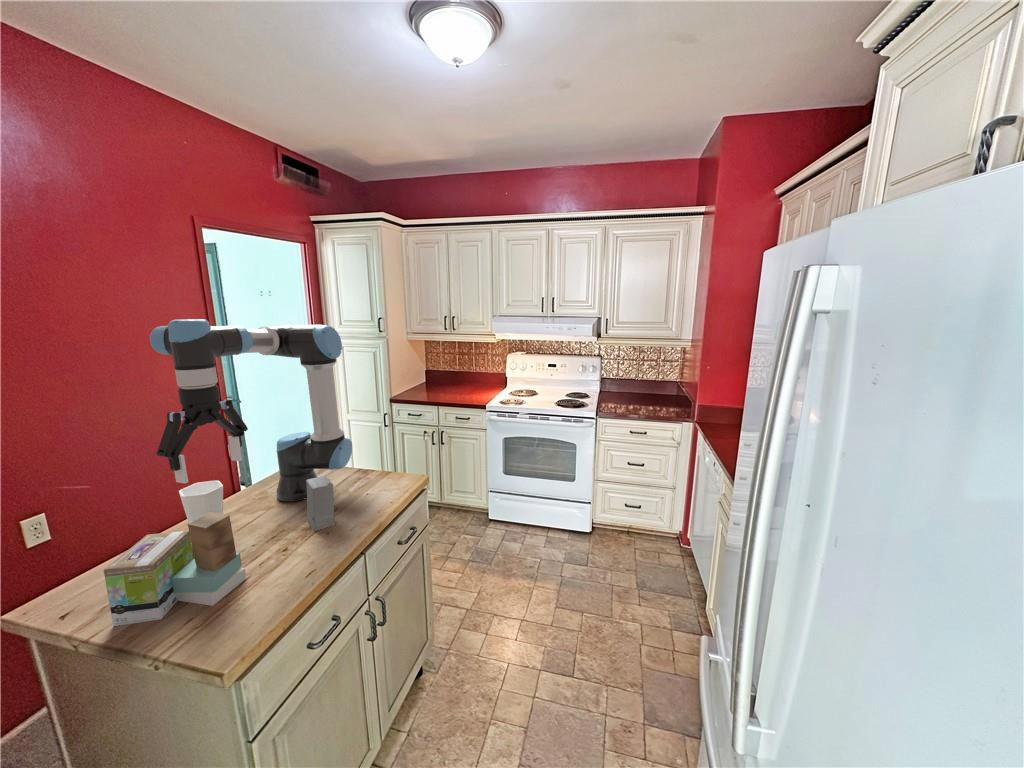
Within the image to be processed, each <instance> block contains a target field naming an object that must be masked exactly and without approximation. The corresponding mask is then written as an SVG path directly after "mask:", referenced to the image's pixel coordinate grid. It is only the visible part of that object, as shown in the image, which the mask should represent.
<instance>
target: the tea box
mask: <svg viewBox="0 0 1024 768" xmlns="http://www.w3.org/2000/svg"><path fill="white" fill-rule="evenodd" d="M194 559H195V558H194V553H193V548H192V543H191V538H190V533H189V530H181V531H170V532H169V531H168V532H161V533H160V532H159V533H152V534H151V533H149V534H146V535H145V536H143V538H141V539H140V540H139V541H137V542H136V543H135V544H134V545H132V546H131V547H130V548H128V550H126V551H125V552H124V553H122V554H121V555H120V556H119V557H118V558H116V559H115V560H114V561H112V562H111V563H110V564H109V565H107V566H106V567H105V568H104V569H103V574H104V580H105V586H106V592H107V599H108V603H109V609H110V613H111V620H112V626H113V627H118V626H119V625H120V626H127V625H131V624H139V623H145V622H150V621H153V622H154V621H157V620H162V619H163V618H164V617H165V616H166V615H167V613H169V611H170V610H171V608H173V606H174V605H176V603H177V602H178V597H177V593H174V591H173V585H172V580H171V578H172V577H173V576H174V575H176V574H177V573H178V572H179V571H180V570H182V569H183V568H184V567H185V566H186V565H188V564H189V563H190V562H191V561H192V560H194Z"/></svg>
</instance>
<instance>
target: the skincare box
mask: <svg viewBox="0 0 1024 768" xmlns="http://www.w3.org/2000/svg"><path fill="white" fill-rule="evenodd" d="M306 483H307V498H306V503H307V505H306V507H307V508H306V509H307V523H308V525H309V524H310V525H309V526H311V527H312V528H311V527H310V528H311V529H312V531H314V532H317V530H318V531H321V530H323V529H322V528H324V529H326V528H325V527H327V528H329V527H332V526H334V525H335V504H334V500H335V499H334V484H333V482H332V481H331V479H330V478H329V477H328V476H327V475H323V476H317V478H312V479H308V480H306ZM333 524H334V525H333ZM331 525H332V526H331ZM328 526H329V527H328ZM320 529H321V530H320Z"/></svg>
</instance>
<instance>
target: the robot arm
mask: <svg viewBox="0 0 1024 768" xmlns="http://www.w3.org/2000/svg"><path fill="white" fill-rule="evenodd" d="M149 343H150V346H151V347H152V349H153V350H154V351H155V352H157V353H158V354H161V355H166V356H171V357H172V361H173V367H174V373H175V378H176V386H178V387H180V388H178V389H177V392H178V398H179V399H178V400H179V403H180V405H181V411H175V412H174V411H168V412H167V413H166V425H165V428H164V431H163V434H162V436H161V439H160V443H159V446H158V448H157V451H156V456H157V457H161V458H162V457H163V458H167V459H168V464H169V470H171V471H173V472H174V477H175V482H176V483H179V484H187V483H189V477H188V472H187V466H186V459H185V458H186V457H185V455H184V454H181V453H182V451H183V450H184V448H185V447H186V445H187V443H188V442H189V440H190V438H191V436H192V434H193V433H194V432H195V431H196V430H197V429H198V427H202V426H205V425H206V424H212V423H215V424H217V425H218V426H219V427H220V428H222V429H224V431H226V432H227V433H228V434H230V435H228V436H227V438H228V439H227V440H228V446H229V447H228V448H229V453H230V460H231V461H233V462H242V461H243V457H242V451H241V448H242V447H243V442H242V437H244V436H245V432H247V431H248V430H249V428H248V426H247V424H246V423H245V422H244V421H243V420H244V419H242V417H241V416H240V415H239V413H238V412H237V411H236V409H235V406H234V403H233V400H232V399H221V395H220V388H219V385H217V383H218V382H219V380H218V374H217V368H216V362H215V361H216V360H215V358H219V357H228V356H238V355H241V354H251V353H252V354H253V353H254V354H255V353H258V354H261V355H263V356H277V357H286V358H294V359H295V358H296V359H299V361H300V365H301V366H302V367H304V369H306V378H307V386H308V391H309V392H308V395H309V400H310V401H309V403H310V410H311V417H312V425H313V433H310V432H308V431H301V432H295V433H290V434H288V435H285V436H282V437H280V438H279V439H278V440H277V441H276V450H275V451H276V455H277V463H278V464H277V465H278V470H279V471H278V472H279V479H278V485H277V487H276V498H277V499H278V500H280V501H283V502H295V501H296V502H297V501H301V499H302V500H305V499H304V498H306V499H307V483H306V480H308V479H312V478H317V477H318V476H317V474H316V471H315V470H329V471H333V470H342V469H343V468H345V467H346V466H347V465H348V463H349V462H350V461H351V460H350V459H351V456H352V454H353V442H352V441H351V439H350V438H348V437H345V431H344V429H343V430H342V429H341V428H340V422H339V413H338V404H337V395H336V387H335V386H336V385H335V384H336V383H335V377H334V368H333V366H335V364H336V363H337V359H338V358H339V357H340V356H341V354H342V350H343V344H342V339H341V337H340V334H339V332H338V331H337V330H336V329H335V328H334V327H333V326H331V325H326V324H325V325H324V324H284V325H278V326H277V325H275V326H261V327H258V328H257V329H256V328H246V327H245V326H242V325H234V324H233V325H231V324H230V325H210V322H209V321H208V319H201V318H198V319H197V318H194V319H193V318H191V319H189V318H187V319H173V320H171V321H169V322H168V324H167V325H161V326H157V327H155V328H154V329H152V331H151V333H150V334H149ZM219 400H220V401H219ZM221 410H222V411H223V413H224V414H225V415H226V417H227V418H228V419H229V420H228V419H226V417H225V416H224V415H223V414H221V413H220V411H221Z"/></svg>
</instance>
